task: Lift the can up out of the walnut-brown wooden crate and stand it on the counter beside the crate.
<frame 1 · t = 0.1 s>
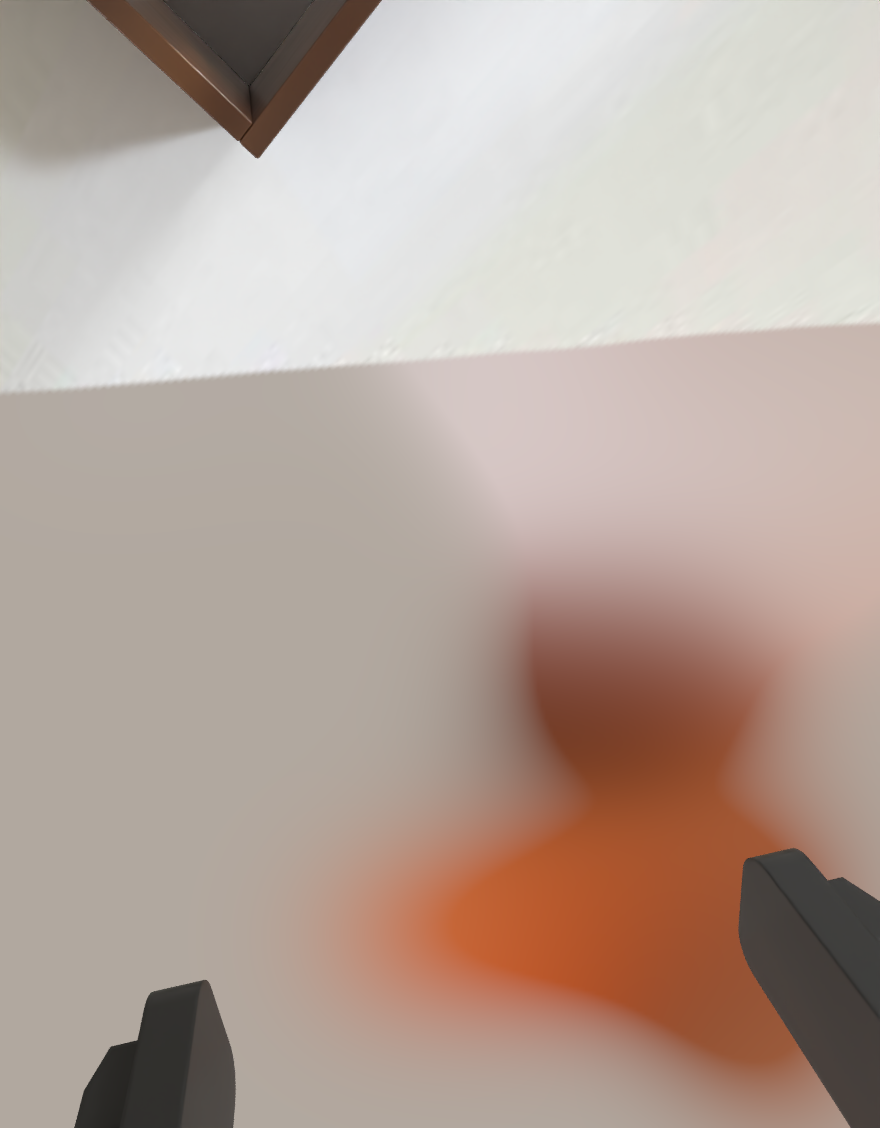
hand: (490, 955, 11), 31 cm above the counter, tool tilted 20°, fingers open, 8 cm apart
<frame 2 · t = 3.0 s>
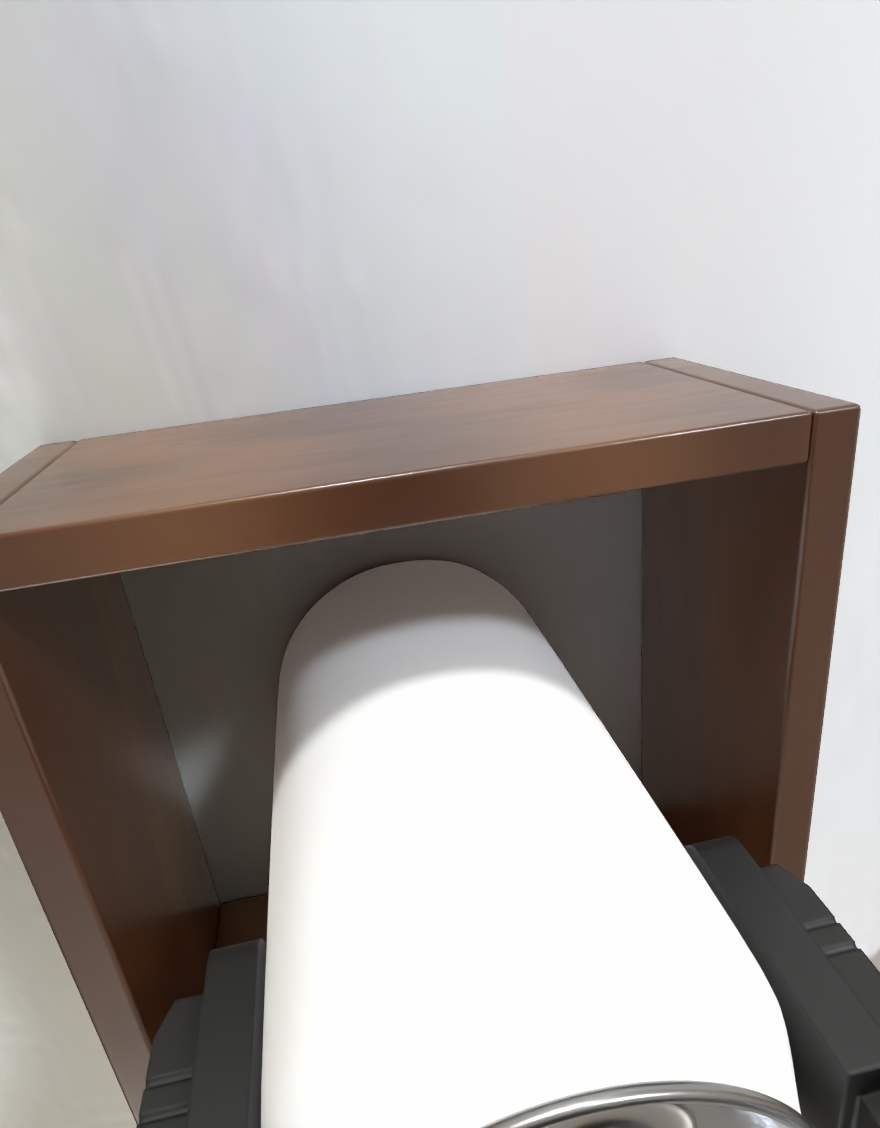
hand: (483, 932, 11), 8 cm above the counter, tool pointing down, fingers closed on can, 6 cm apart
crate: (412, 673, 18), on the counter
can: (410, 669, 18), resting in crate, touching gripper
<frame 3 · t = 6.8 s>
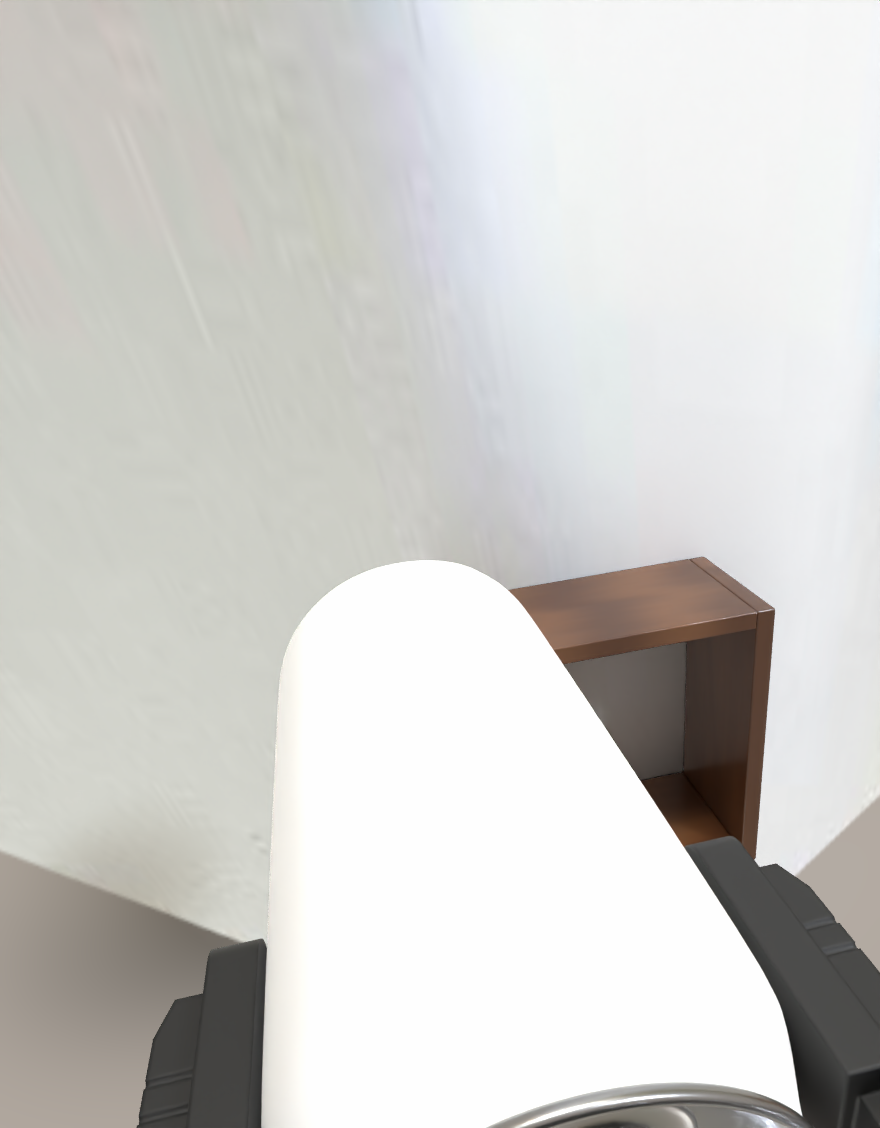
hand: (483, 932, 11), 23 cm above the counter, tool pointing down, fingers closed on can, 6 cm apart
crate: (574, 699, 38), on the counter
can: (411, 669, 18), point 15 cm above the counter, touching gripper
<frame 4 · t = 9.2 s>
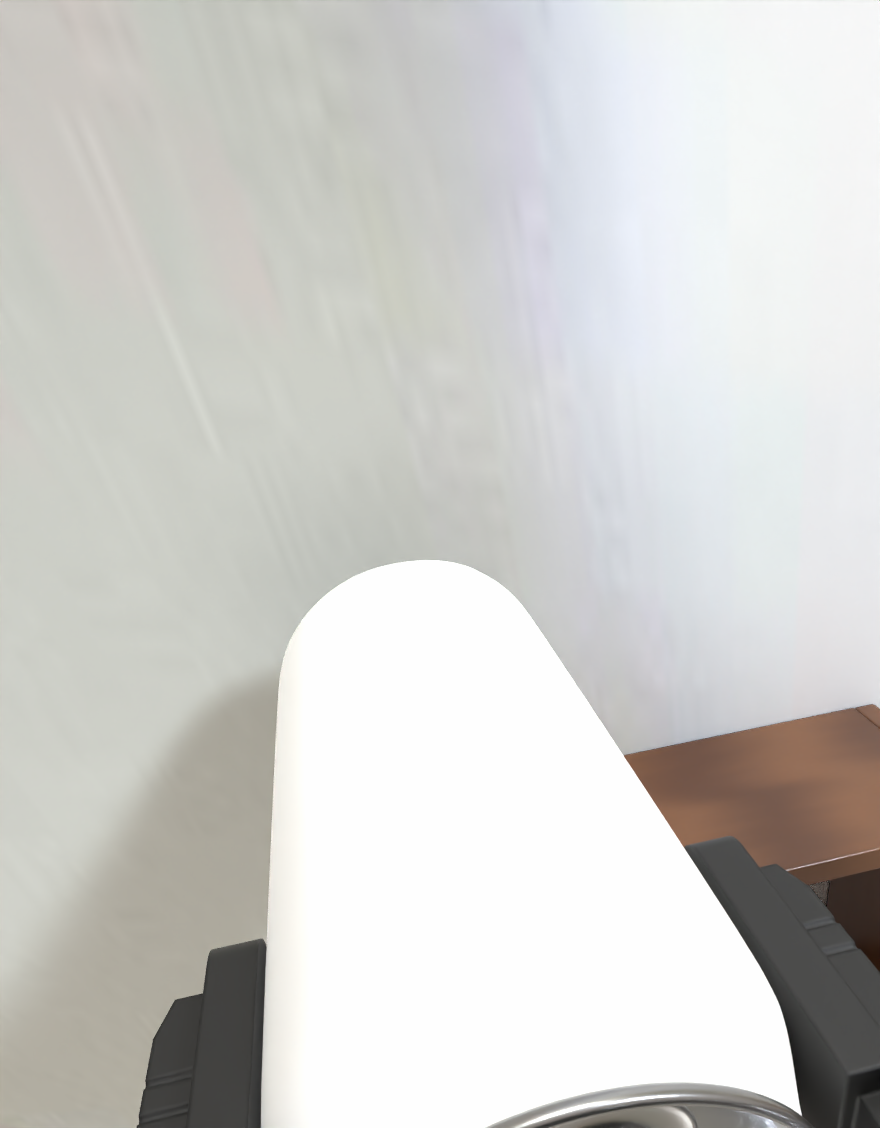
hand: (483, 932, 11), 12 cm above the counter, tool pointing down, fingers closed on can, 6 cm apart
crate: (692, 882, 29), on the counter
can: (411, 669, 18), point 4 cm above the counter, touching gripper
when the fingers open (8 cm above the counter, at t = 10.8 s): can stays where it is, on the counter.
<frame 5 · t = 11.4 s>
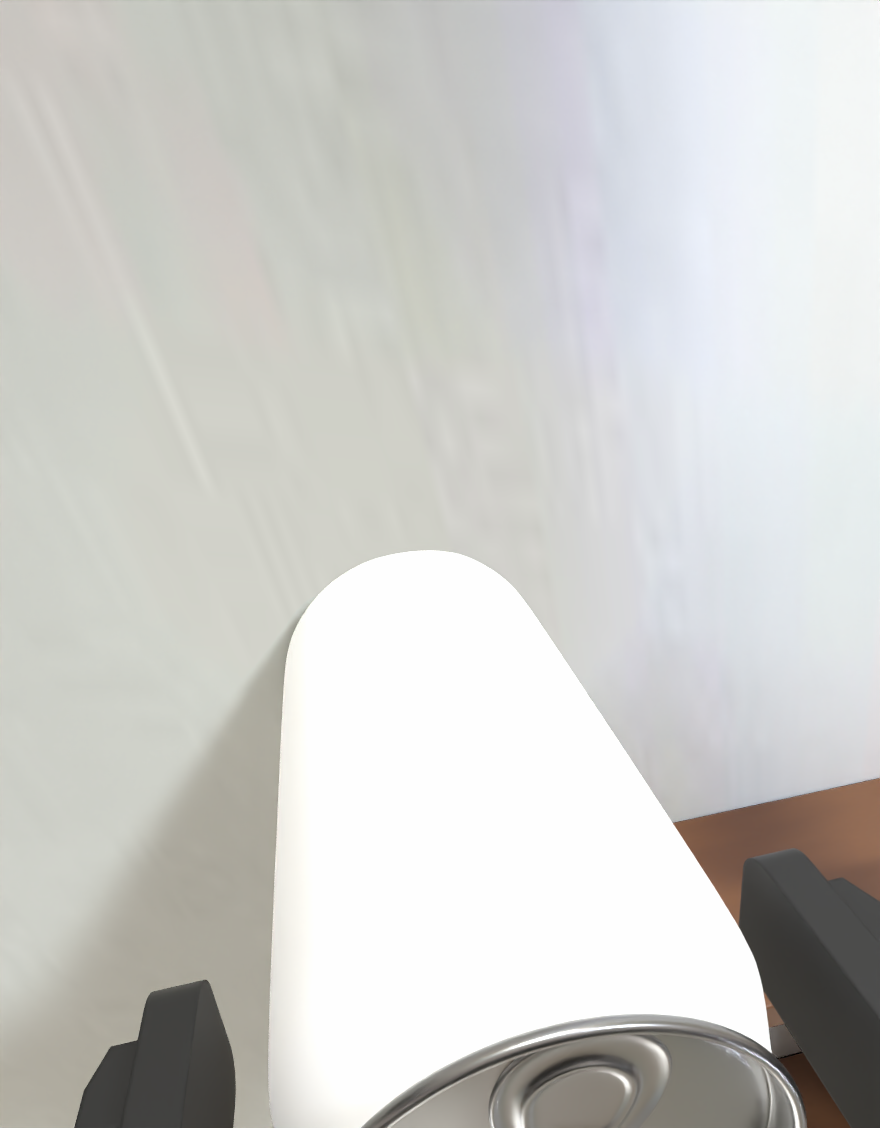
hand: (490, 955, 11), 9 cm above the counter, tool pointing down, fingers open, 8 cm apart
crate: (745, 957, 26), on the counter
can: (412, 657, 19), on the counter
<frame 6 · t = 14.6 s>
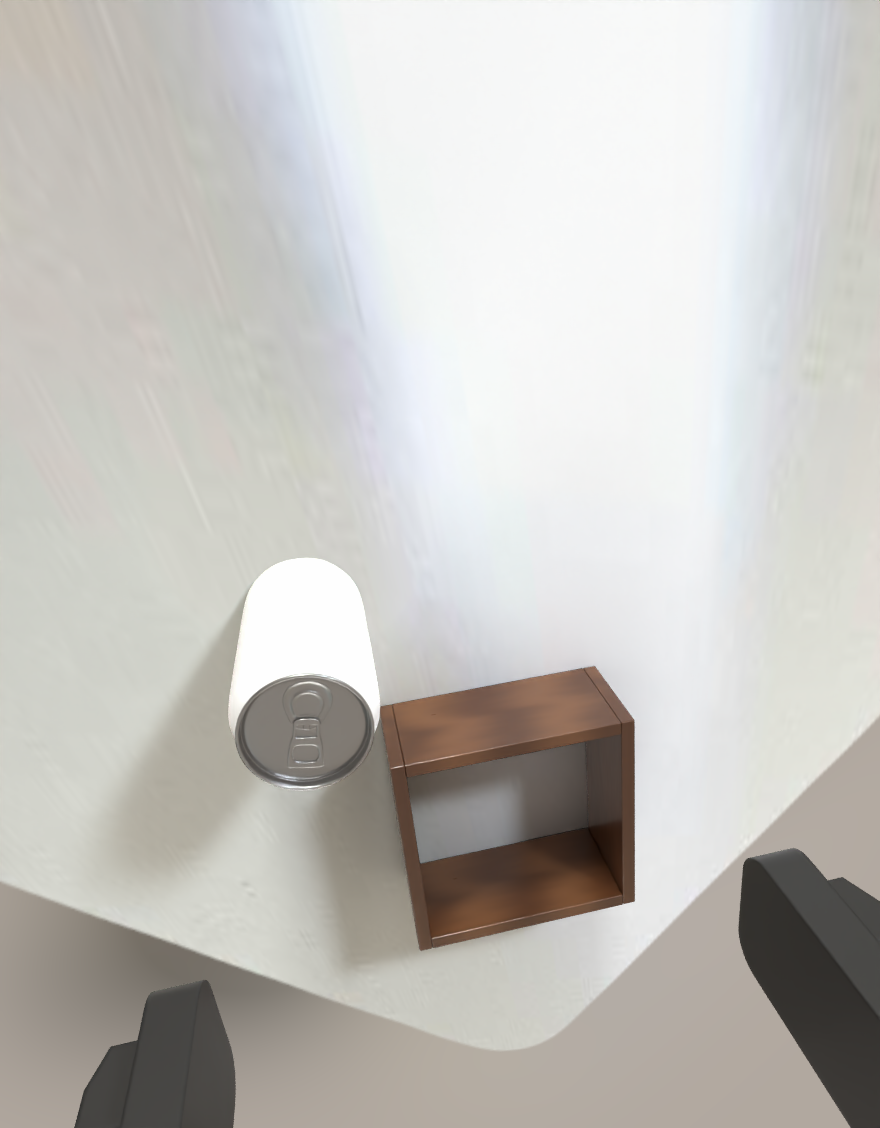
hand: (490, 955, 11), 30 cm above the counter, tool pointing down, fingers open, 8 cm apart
crate: (497, 774, 48), on the counter
can: (304, 607, 41), on the counter
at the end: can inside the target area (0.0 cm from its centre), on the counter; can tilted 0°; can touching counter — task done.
